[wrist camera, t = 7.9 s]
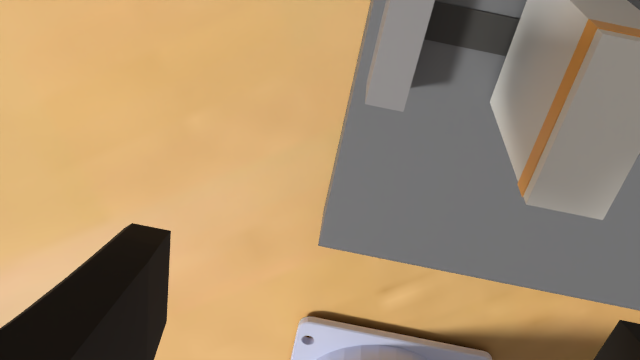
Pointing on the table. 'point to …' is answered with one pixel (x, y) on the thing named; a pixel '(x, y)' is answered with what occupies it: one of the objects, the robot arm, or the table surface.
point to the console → (460, 163)
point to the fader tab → (572, 103)
